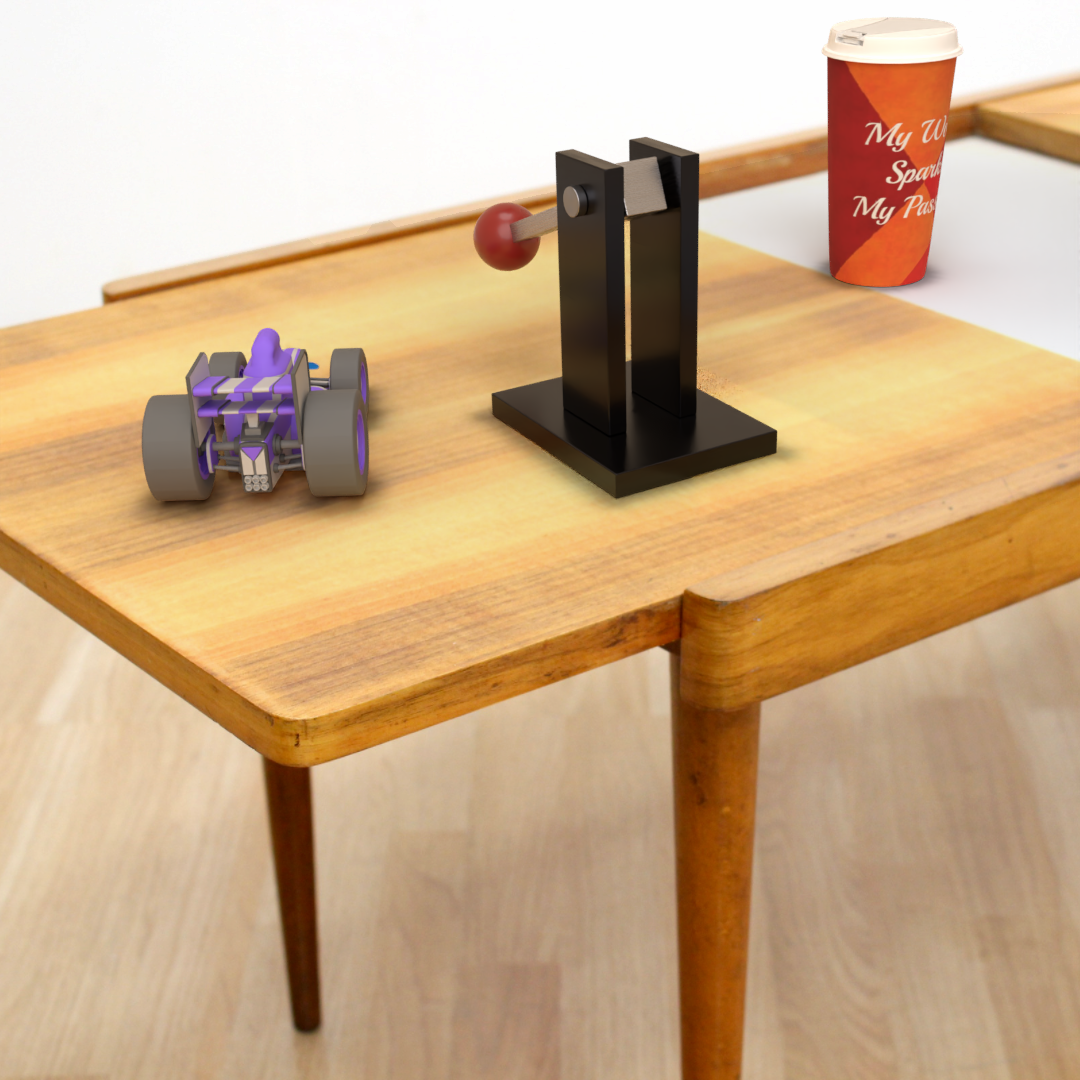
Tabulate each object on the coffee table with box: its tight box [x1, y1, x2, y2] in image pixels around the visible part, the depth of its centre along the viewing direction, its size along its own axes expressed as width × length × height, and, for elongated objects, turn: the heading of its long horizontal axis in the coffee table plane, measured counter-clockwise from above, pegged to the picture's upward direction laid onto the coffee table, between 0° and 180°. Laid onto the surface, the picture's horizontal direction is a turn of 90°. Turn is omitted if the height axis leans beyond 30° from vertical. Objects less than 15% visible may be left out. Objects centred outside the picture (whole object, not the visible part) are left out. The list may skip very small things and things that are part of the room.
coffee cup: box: [821, 16, 964, 288], centre depth 95 cm, size 8×8×15 cm
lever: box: [472, 157, 667, 272], centre depth 77 cm, size 16×4×4 cm, turn 30°
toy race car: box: [141, 327, 370, 502], centre depth 75 cm, size 10×15×6 cm, turn 0°
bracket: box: [490, 136, 778, 499], centre depth 73 cm, size 12×9×14 cm
